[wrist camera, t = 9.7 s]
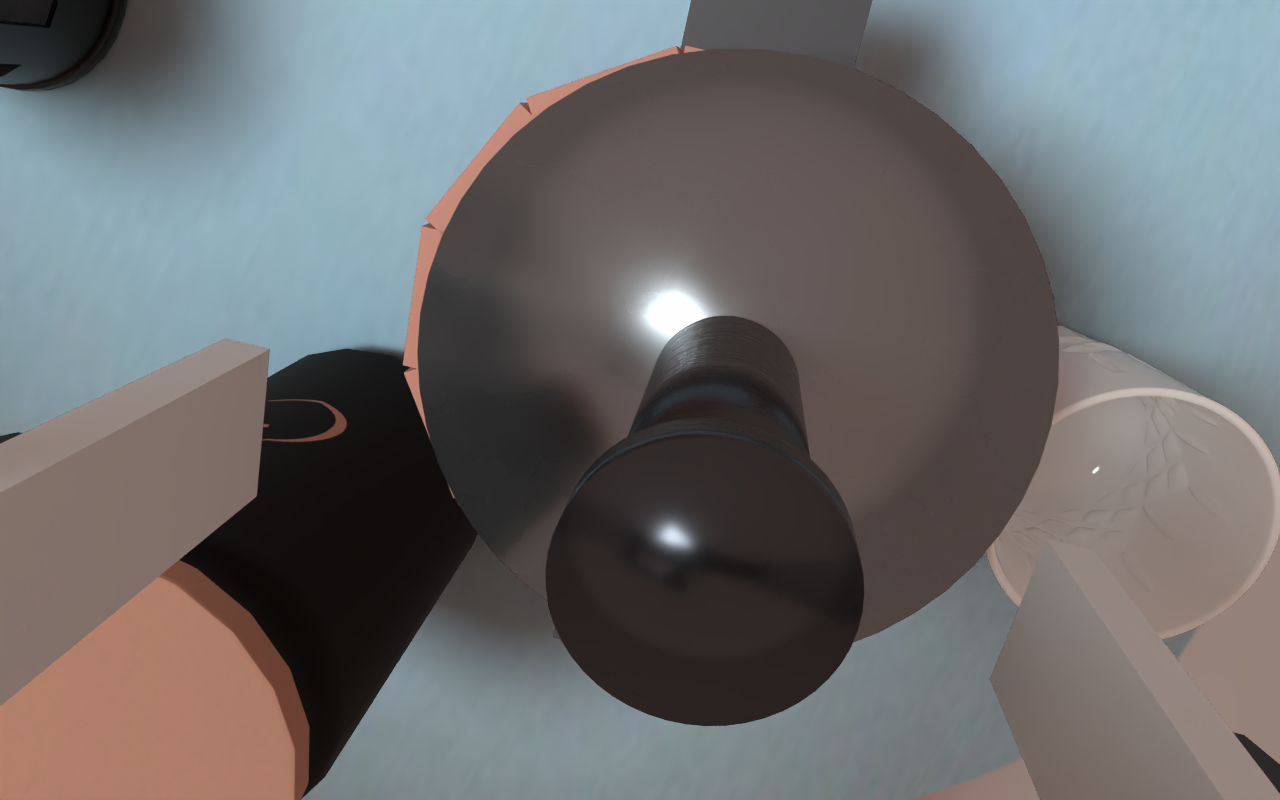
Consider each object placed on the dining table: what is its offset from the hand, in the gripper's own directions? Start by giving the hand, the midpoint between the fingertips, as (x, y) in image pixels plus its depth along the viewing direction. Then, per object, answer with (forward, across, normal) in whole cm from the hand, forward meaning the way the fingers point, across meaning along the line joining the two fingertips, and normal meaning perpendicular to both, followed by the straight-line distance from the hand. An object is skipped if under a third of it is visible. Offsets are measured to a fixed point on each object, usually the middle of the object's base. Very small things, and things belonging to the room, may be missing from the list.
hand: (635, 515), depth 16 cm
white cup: (+21, +14, -2) cm, 25 cm away
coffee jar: (+22, -12, -11) cm, 27 cm away
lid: (+11, +1, 0) cm, 11 cm away
